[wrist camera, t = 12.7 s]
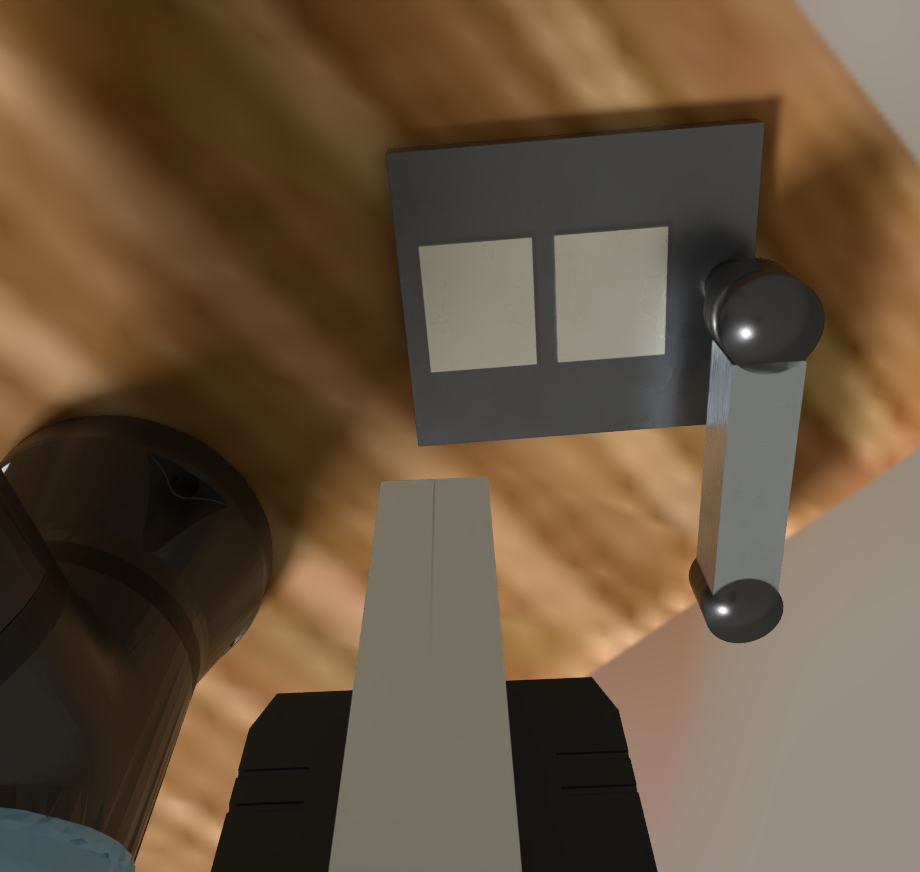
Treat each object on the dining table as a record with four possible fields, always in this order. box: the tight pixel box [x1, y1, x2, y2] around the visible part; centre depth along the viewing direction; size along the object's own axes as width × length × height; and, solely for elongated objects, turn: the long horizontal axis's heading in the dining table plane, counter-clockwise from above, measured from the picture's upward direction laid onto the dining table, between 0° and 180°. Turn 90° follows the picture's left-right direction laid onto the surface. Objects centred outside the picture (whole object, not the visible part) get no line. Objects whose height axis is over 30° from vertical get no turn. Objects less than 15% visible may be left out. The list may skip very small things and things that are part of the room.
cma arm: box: [689, 258, 824, 643], centre depth 39 cm, size 18×4×3 cm, turn 3°
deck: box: [386, 119, 765, 446], centre depth 40 cm, size 16×14×4 cm
